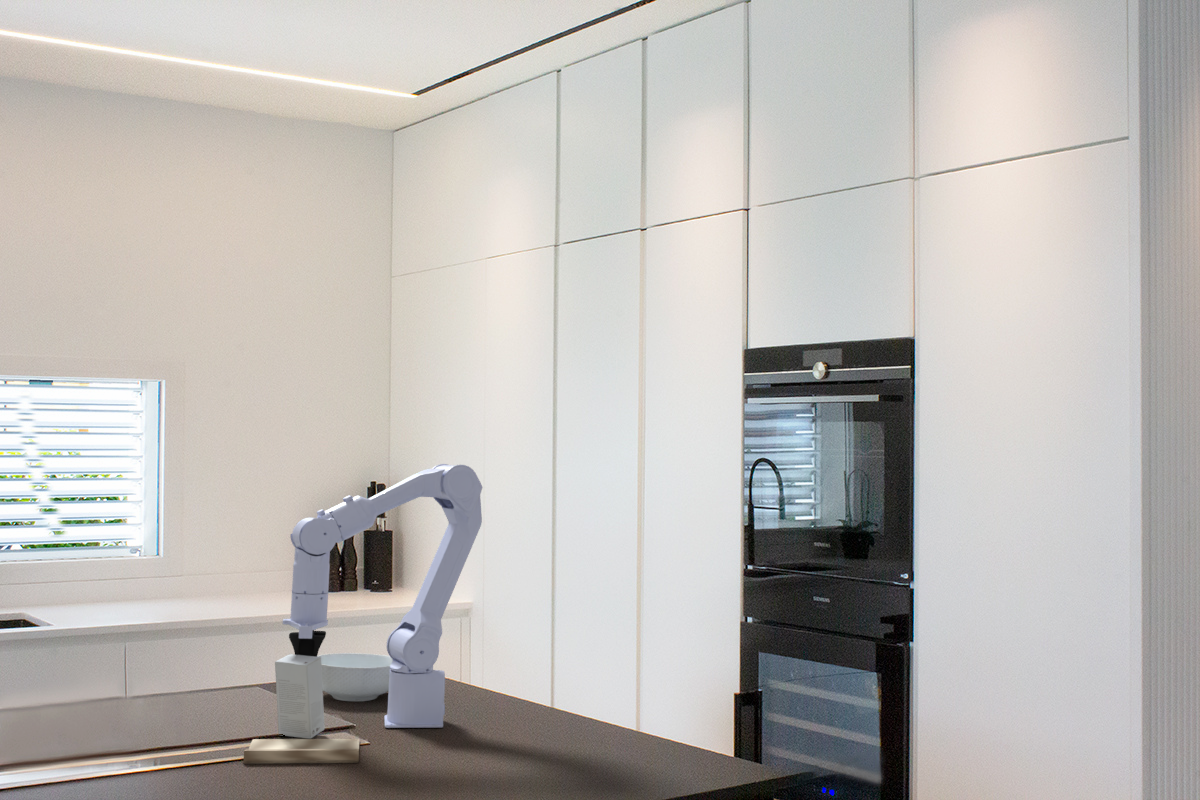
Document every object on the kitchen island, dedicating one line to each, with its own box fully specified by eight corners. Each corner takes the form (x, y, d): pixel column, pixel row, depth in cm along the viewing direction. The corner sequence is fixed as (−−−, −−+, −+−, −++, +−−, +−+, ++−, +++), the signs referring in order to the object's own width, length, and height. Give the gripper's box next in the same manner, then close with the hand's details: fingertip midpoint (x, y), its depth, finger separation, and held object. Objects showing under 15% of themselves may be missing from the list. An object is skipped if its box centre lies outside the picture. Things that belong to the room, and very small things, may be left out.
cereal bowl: (391, 709, 205) (393, 668, 205) (298, 705, 205) (300, 664, 205) (408, 690, 221) (410, 653, 222) (322, 687, 222) (324, 649, 222)
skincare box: (325, 729, 183) (322, 656, 182) (310, 740, 179) (307, 665, 178) (292, 725, 185) (289, 653, 184) (277, 735, 181) (273, 661, 180)
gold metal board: (359, 741, 180) (359, 729, 180) (358, 762, 167) (359, 750, 167) (252, 741, 176) (253, 729, 177) (243, 763, 164) (244, 750, 164)
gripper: (287, 587, 193) (283, 669, 192) (280, 597, 178) (275, 686, 178) (331, 588, 194) (326, 669, 193) (327, 598, 180) (322, 686, 179)
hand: (305, 677), depth 185 cm, fingers closed
